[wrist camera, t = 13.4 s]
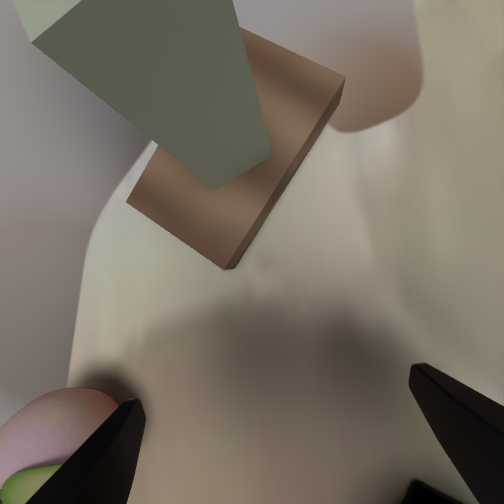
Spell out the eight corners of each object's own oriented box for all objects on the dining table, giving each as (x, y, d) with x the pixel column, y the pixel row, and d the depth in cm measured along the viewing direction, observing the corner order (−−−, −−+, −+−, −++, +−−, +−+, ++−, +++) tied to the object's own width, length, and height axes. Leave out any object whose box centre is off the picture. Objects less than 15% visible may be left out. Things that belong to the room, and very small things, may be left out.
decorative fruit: (119, 345, 23) (-13, 409, 14) (167, 422, 22) (61, 551, 12) (53, 399, 25) (-111, 493, 15) (96, 474, 23) (-52, 630, 14)
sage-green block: (273, 154, 18) (204, -103, 5) (215, 190, 19) (30, 42, 6) (241, 98, 18) (110, -258, 6) (186, 135, 19) (-37, -106, 7)
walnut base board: (239, 54, 22) (229, 22, 19) (339, 103, 20) (345, 76, 17) (148, 209, 23) (125, 201, 20) (234, 268, 21) (223, 269, 18)
